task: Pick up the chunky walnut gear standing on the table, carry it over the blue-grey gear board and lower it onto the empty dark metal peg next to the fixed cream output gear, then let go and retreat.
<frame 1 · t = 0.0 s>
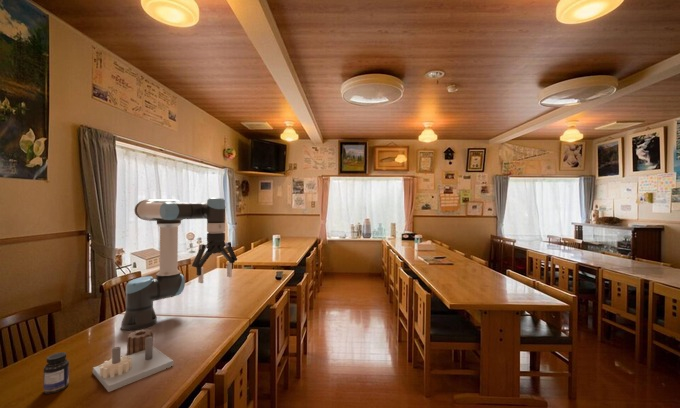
hand: (215, 279, 132), 28 cm above the table, fingers open, 13 cm apart
pill bottle: (56, 389, 98), on the table
walnut gear: (140, 350, 124), on the table
gear board: (133, 369, 109), on the table
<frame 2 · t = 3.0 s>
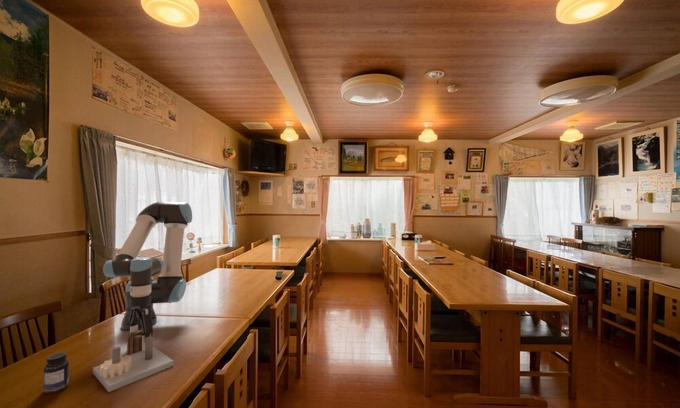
hand: (139, 345, 124), 2 cm above the table, fingers open, 13 cm apart
nothing on the table moved.
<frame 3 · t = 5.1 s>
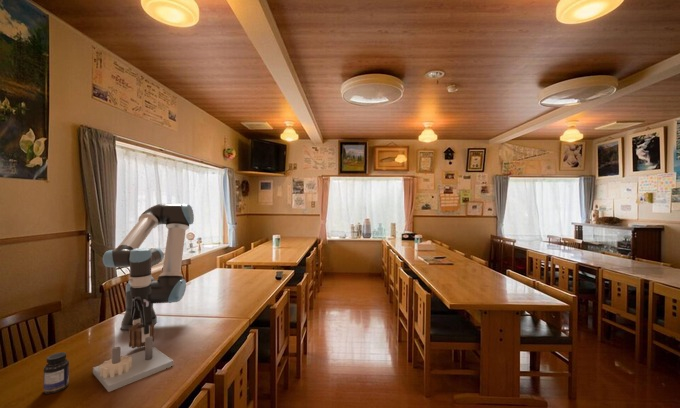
hand: (141, 337, 125), 5 cm above the table, fingers closed on walnut gear, 9 cm apart
walnut gear: (141, 342, 125), point 3 cm above the table, touching gripper
everything else where it was.
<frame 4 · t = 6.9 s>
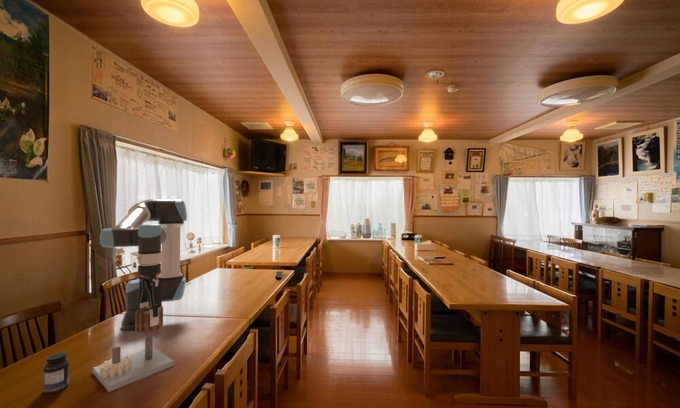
hand: (149, 322, 113), 16 cm above the table, fingers closed on walnut gear, 9 cm apart
walnut gear: (149, 327, 113), point 14 cm above the table, touching gripper
everything else where it was.
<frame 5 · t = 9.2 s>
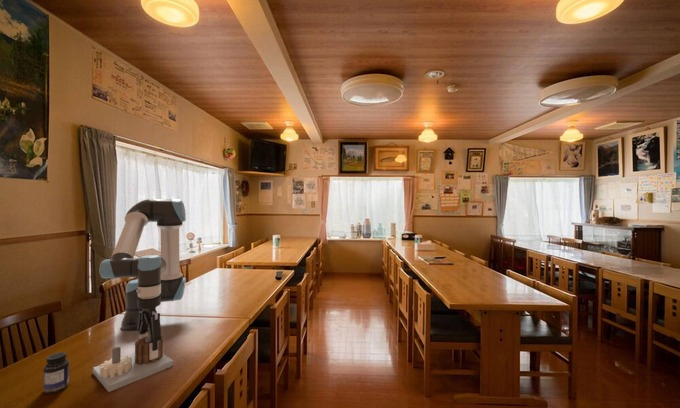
hand: (148, 354, 113), 4 cm above the table, fingers closed on walnut gear, 9 cm apart
walnut gear: (149, 358, 113), point 2 cm above the table, touching gear board, gripper
everything else where it was.
when the fingers open (4 cm above the table, at t = 10.0 s): walnut gear stays where it is, resting on gear board.
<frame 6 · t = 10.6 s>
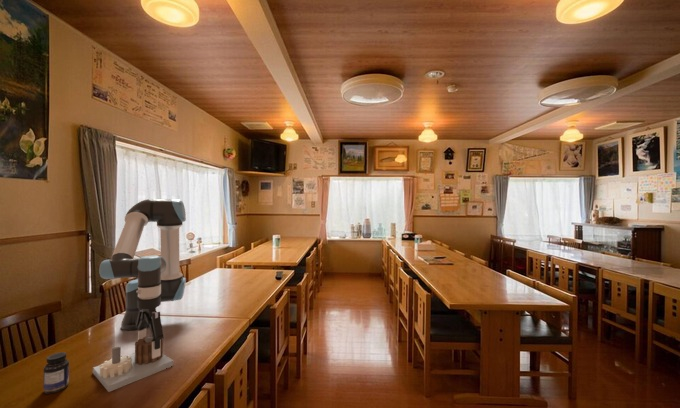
hand: (148, 351, 113), 5 cm above the table, fingers open, 13 cm apart
walnut gear: (149, 358, 113), point 2 cm above the table, touching gear board
everything else where it was.
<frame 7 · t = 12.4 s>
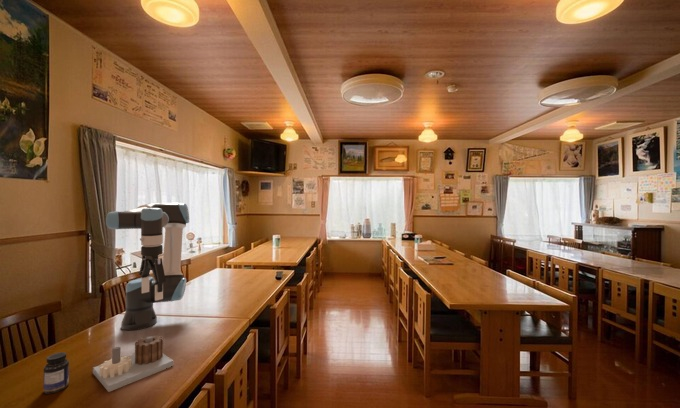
hand: (152, 296, 122), 24 cm above the table, fingers open, 13 cm apart
nothing on the table moved.
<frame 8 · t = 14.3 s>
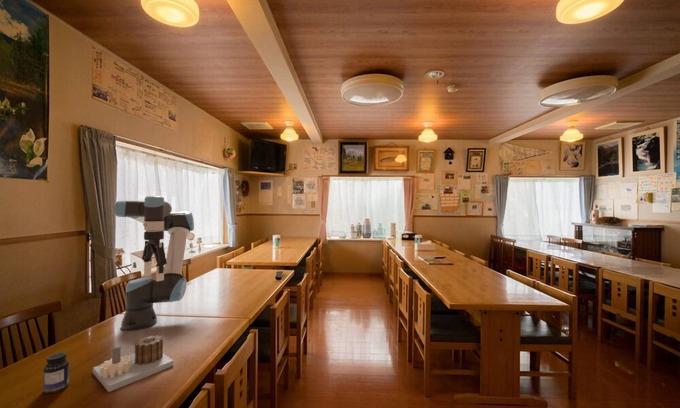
hand: (153, 278, 131), 29 cm above the table, fingers open, 13 cm apart
nothing on the table moved.
at the end: walnut gear 0.1 cm from the target spot on the gear board, point 2.0 cm above the gear board's base; walnut gear tilted 0°; the gripper is holding nothing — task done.
